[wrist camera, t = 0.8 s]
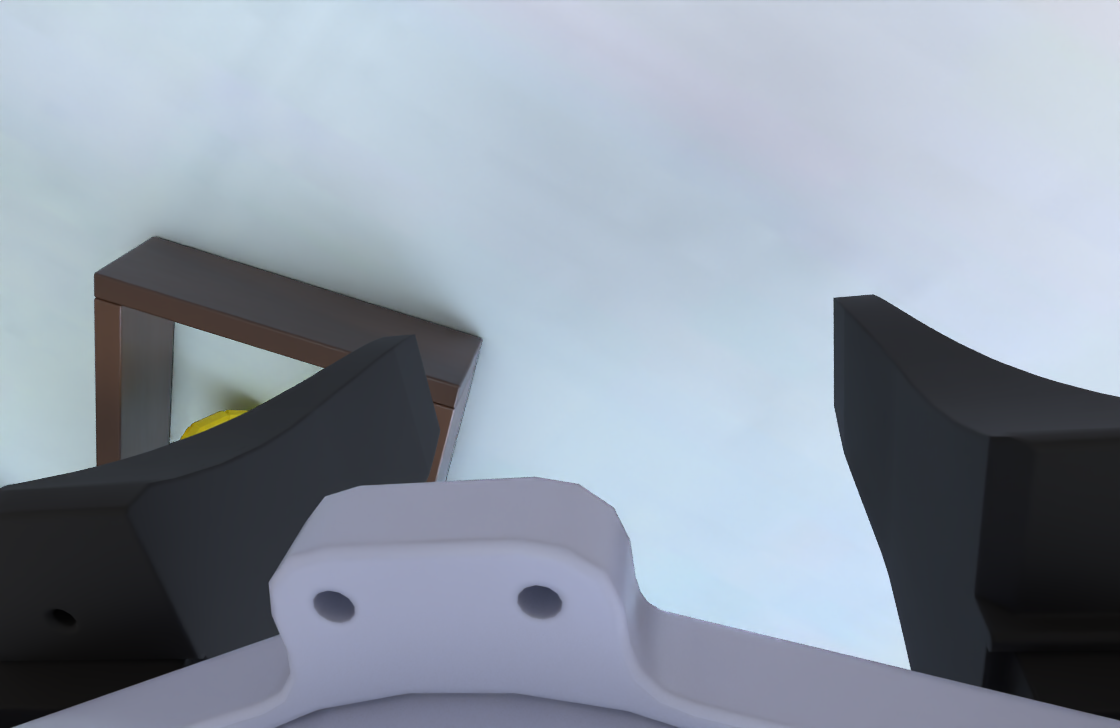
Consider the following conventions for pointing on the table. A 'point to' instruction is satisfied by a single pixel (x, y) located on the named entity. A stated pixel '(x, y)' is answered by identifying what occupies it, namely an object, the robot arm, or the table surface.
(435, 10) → the table surface
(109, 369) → the desk tidy
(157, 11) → the table surface
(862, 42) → the table surface
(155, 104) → the table surface
